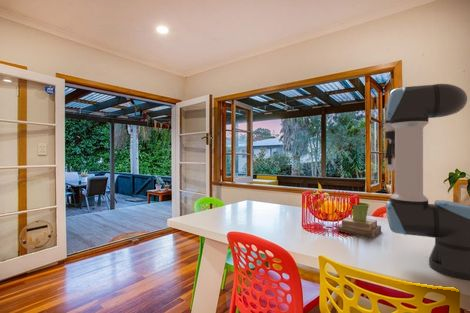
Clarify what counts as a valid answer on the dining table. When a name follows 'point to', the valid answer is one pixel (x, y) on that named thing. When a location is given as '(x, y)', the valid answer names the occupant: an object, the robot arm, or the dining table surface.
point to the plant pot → (360, 211)
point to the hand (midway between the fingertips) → (393, 170)
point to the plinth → (360, 232)
